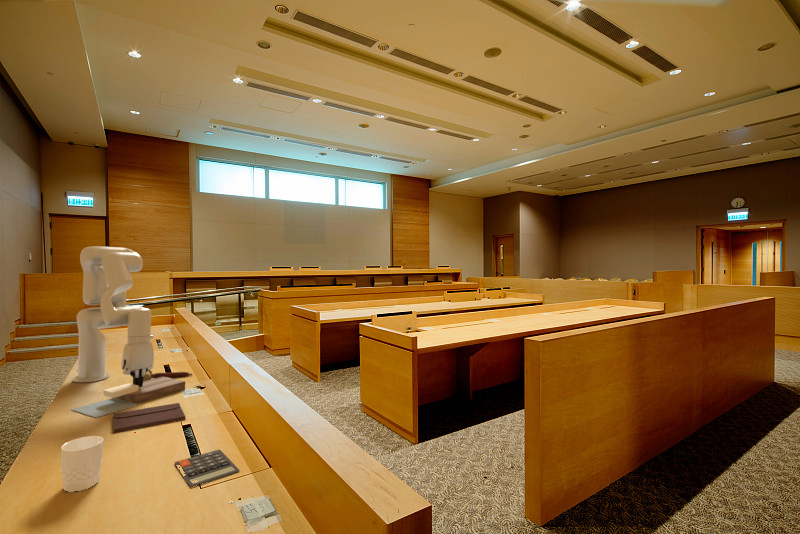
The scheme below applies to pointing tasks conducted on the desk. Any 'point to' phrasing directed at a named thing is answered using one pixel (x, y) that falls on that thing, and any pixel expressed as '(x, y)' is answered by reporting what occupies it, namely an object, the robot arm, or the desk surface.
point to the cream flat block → (120, 390)
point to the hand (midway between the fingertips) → (137, 386)
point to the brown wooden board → (154, 390)
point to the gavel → (164, 375)
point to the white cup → (81, 463)
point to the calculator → (207, 467)
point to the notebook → (147, 417)
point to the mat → (104, 407)
